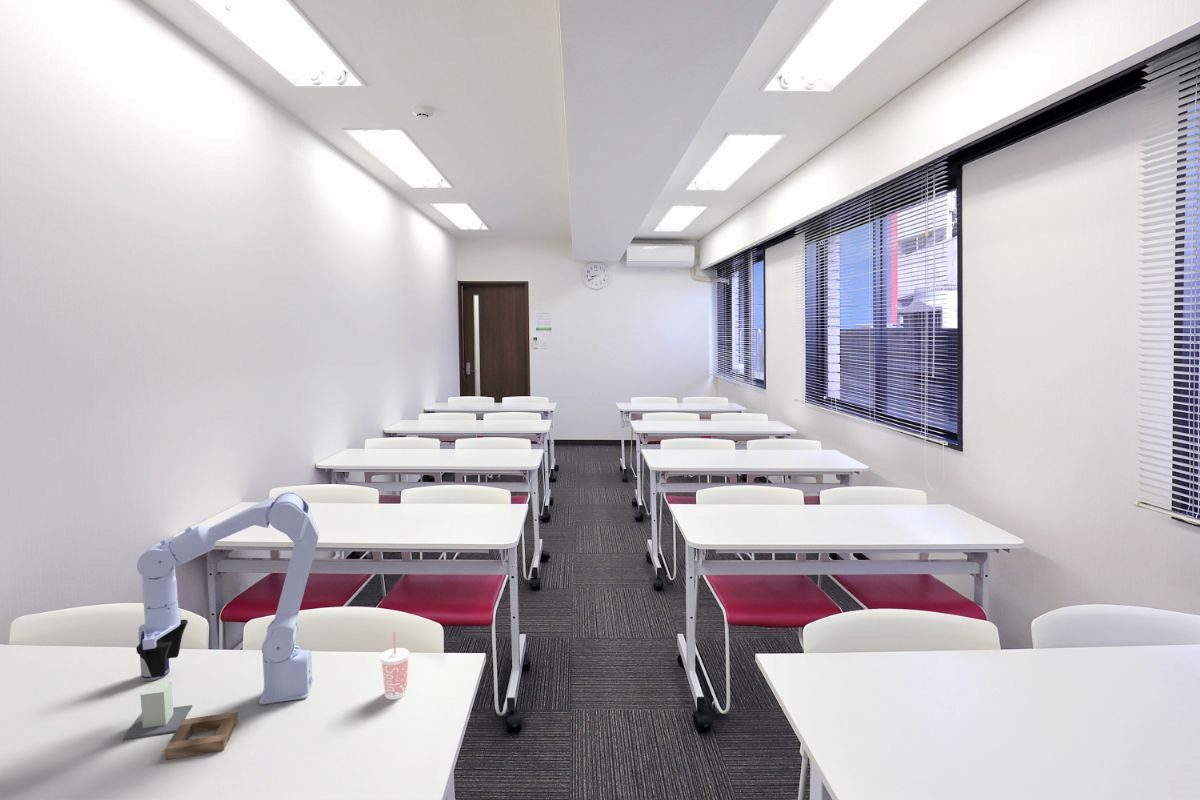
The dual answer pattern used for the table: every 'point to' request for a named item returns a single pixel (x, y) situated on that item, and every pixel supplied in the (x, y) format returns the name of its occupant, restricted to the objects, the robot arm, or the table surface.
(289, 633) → the robot arm
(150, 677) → the energy drink
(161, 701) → the part block
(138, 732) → the mat
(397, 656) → the beverage cup
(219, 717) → the frame
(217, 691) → the table surface
